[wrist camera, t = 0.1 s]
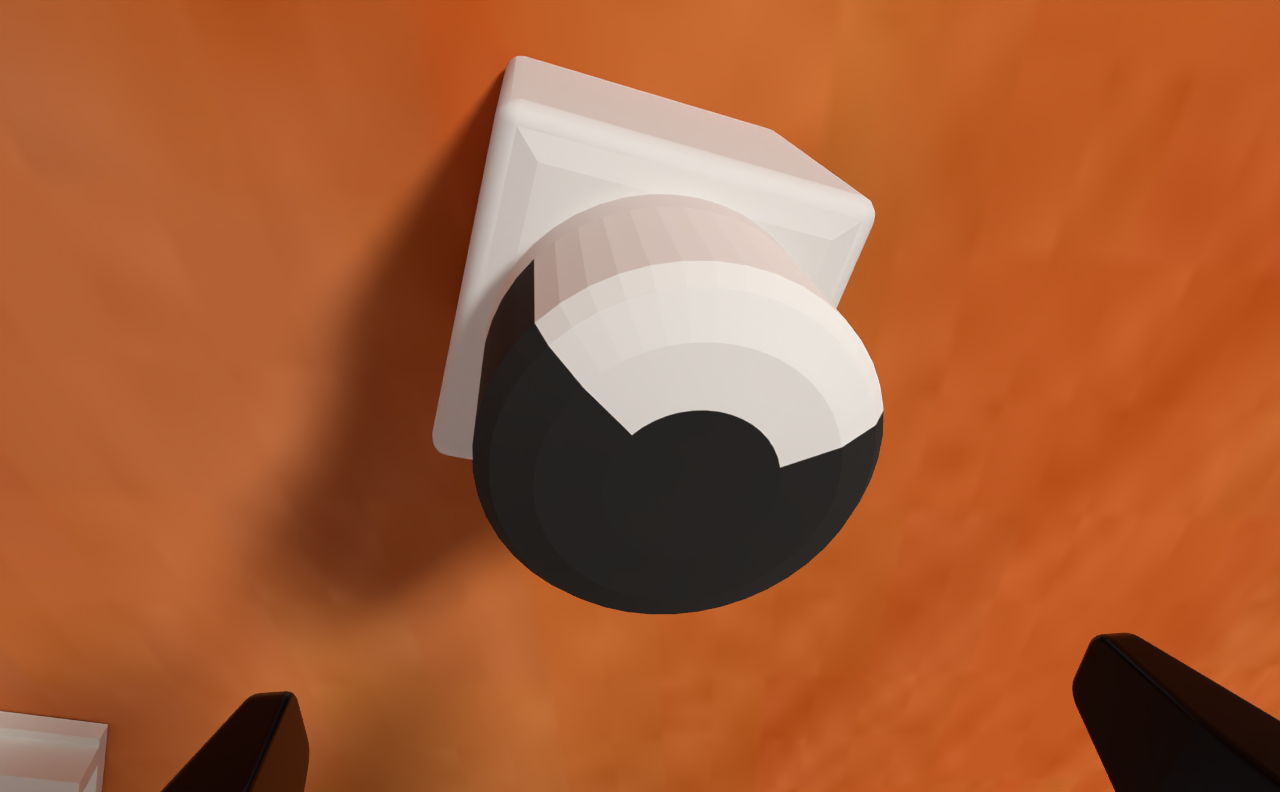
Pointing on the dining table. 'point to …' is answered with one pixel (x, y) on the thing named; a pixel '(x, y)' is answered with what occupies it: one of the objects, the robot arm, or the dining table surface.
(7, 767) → the off-white chute
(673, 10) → the dining table surface
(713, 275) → the medicine bottle
